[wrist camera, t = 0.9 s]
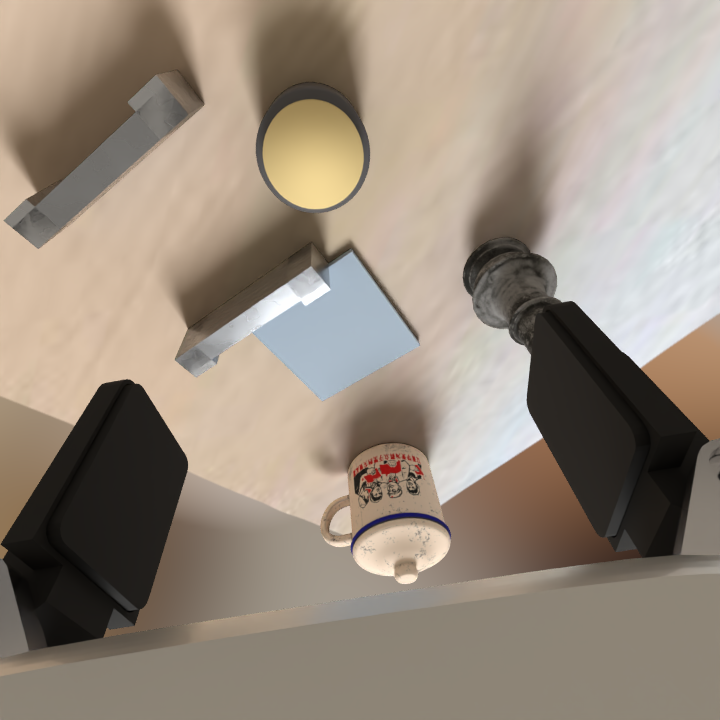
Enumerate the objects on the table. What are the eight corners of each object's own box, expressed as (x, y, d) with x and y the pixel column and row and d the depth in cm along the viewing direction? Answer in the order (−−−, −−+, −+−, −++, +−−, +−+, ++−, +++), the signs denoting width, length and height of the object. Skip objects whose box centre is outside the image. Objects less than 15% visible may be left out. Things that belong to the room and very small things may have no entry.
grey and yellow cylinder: (323, 57, 24) (326, 60, 20) (380, 153, 27) (392, 173, 23) (242, 126, 25) (229, 142, 21) (305, 209, 29) (303, 237, 25)
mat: (351, 248, 30) (351, 251, 30) (418, 341, 36) (420, 345, 35) (244, 320, 33) (243, 324, 33) (322, 396, 39) (322, 401, 38)
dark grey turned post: (470, 230, 30) (542, 317, 21) (547, 236, 31) (650, 324, 22) (450, 302, 34) (504, 406, 24) (520, 307, 35) (599, 409, 25)
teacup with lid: (423, 430, 42) (454, 540, 33) (435, 484, 48) (465, 592, 39) (307, 458, 43) (305, 572, 34) (332, 508, 49) (336, 618, 39)
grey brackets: (177, 70, 24) (155, 74, 20) (328, 263, 31) (330, 289, 28) (40, 199, 27) (3, 220, 24) (207, 345, 34) (196, 377, 31)
